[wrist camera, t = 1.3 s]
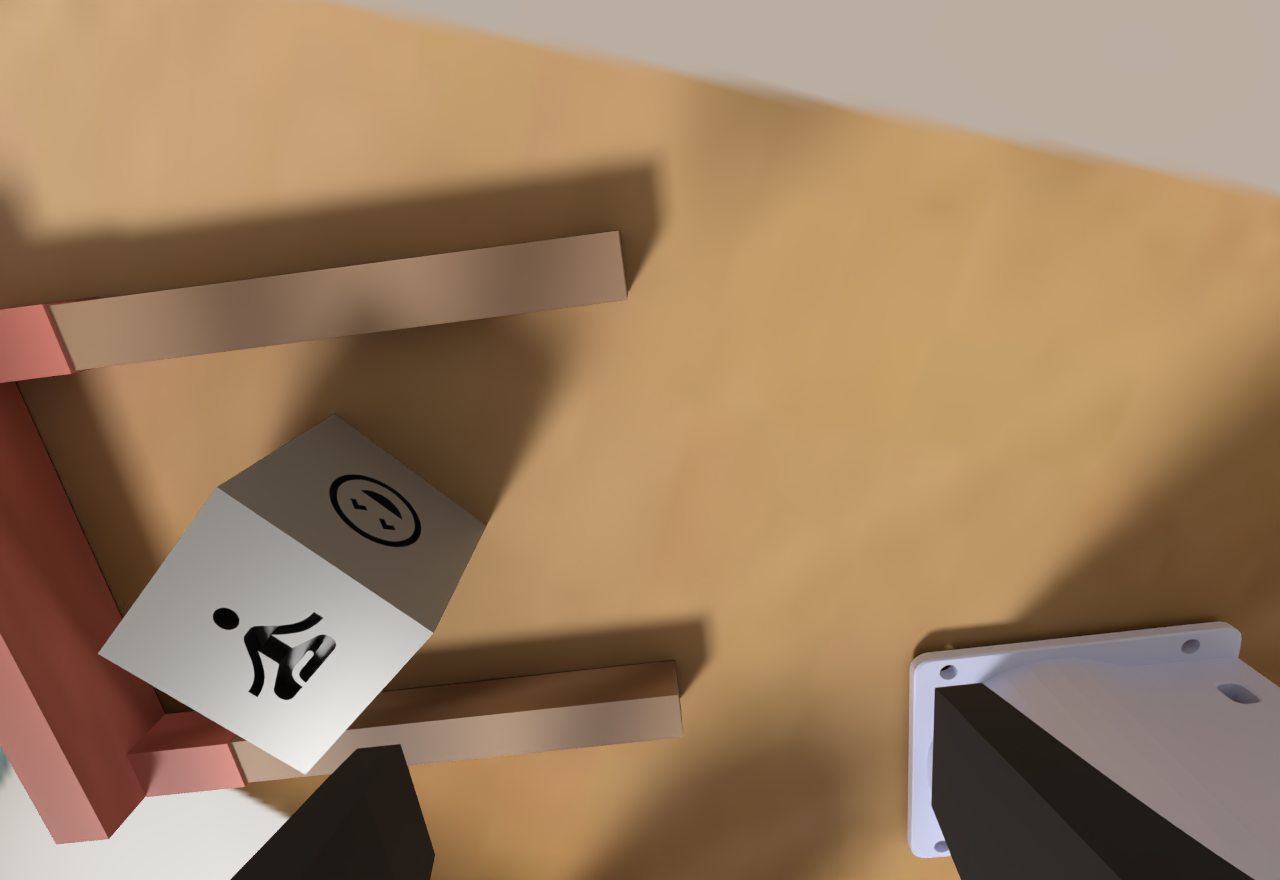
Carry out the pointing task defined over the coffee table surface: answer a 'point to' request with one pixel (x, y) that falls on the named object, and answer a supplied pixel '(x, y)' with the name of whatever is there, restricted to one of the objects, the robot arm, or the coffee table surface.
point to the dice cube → (299, 592)
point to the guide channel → (87, 615)
